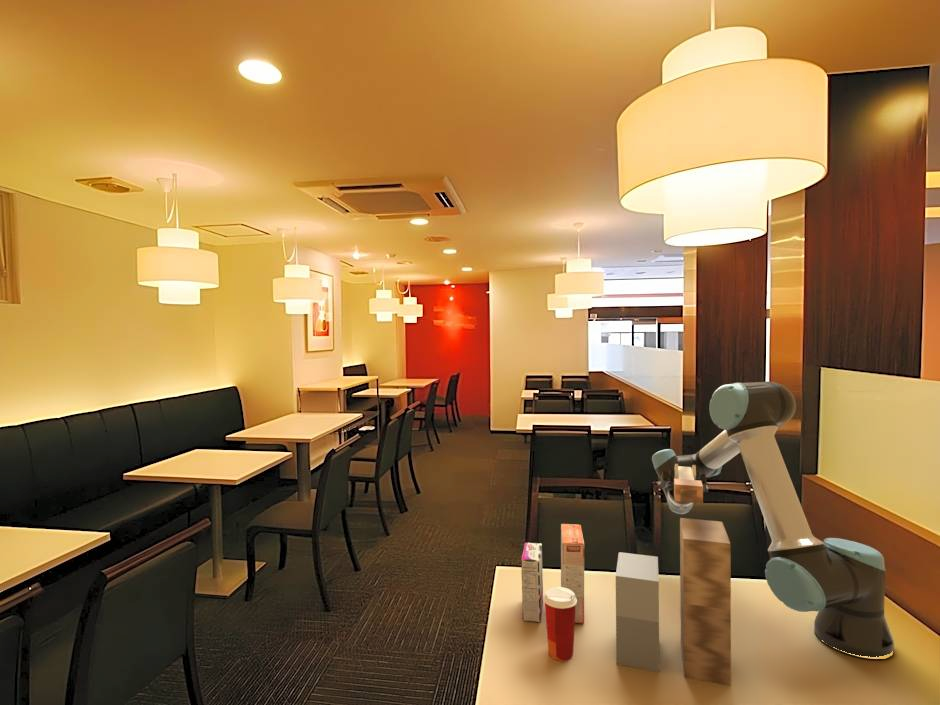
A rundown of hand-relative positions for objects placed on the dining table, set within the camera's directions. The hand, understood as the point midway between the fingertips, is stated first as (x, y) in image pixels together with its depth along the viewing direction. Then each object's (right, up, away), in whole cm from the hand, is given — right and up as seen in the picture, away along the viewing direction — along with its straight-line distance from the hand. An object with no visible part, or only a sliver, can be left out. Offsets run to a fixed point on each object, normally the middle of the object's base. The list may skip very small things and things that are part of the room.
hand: (685, 469), depth 130 cm
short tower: (-16, -39, -12) cm, 44 cm away
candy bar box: (-39, -39, +5) cm, 55 cm away
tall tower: (-3, -39, -17) cm, 43 cm away
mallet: (-1, -4, -3) cm, 5 cm away
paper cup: (-34, -40, -13) cm, 54 cm away
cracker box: (-28, -39, +6) cm, 48 cm away
